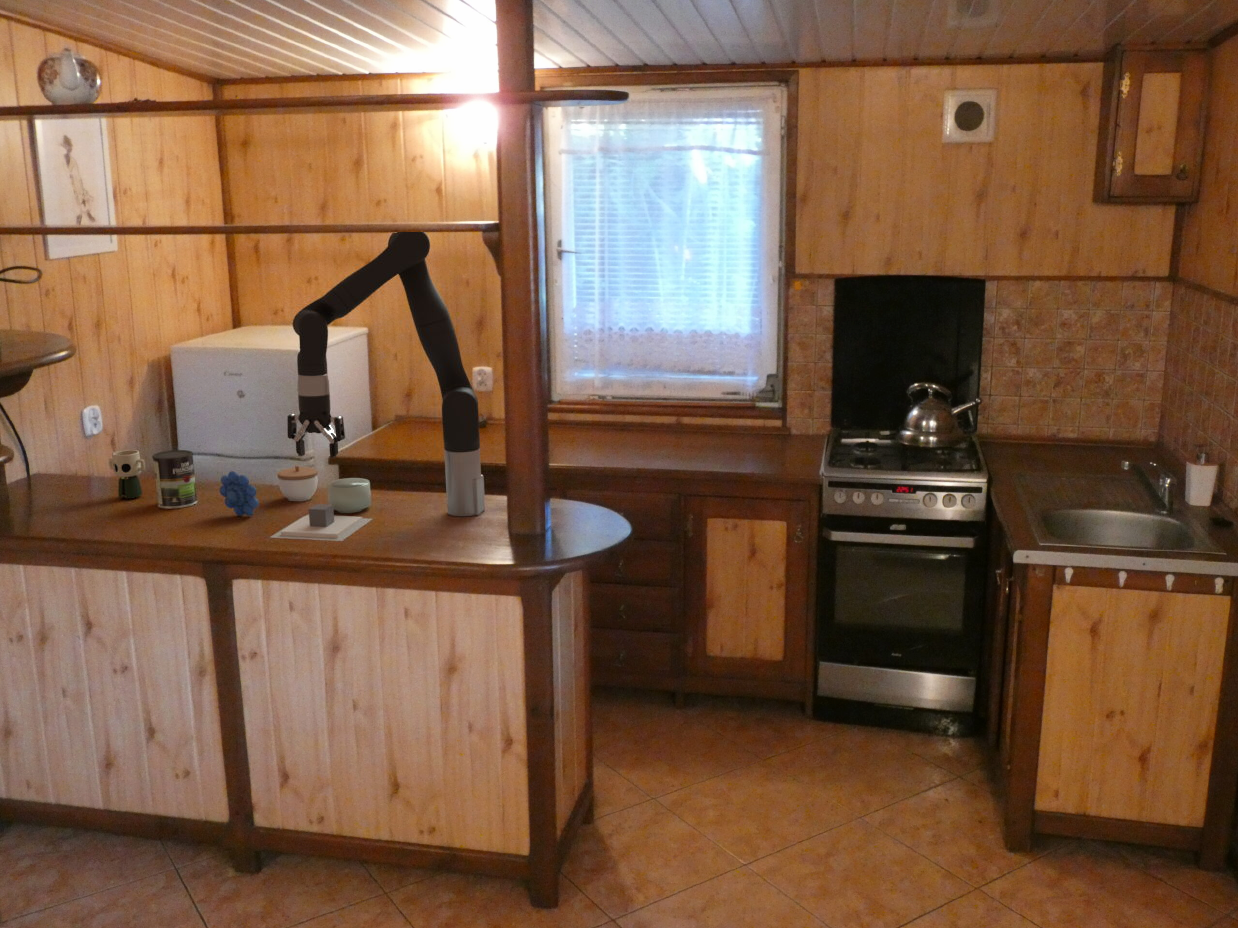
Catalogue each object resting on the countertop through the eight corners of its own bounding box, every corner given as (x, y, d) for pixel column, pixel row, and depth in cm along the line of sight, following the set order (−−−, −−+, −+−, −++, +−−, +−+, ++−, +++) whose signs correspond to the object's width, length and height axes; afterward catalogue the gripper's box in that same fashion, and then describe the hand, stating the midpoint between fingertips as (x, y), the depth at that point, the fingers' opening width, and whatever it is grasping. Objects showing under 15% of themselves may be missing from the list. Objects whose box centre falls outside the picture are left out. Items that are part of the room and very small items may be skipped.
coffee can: (206, 502, 308) (200, 452, 305) (174, 511, 300) (168, 460, 297) (181, 497, 314) (176, 448, 310) (149, 505, 305) (143, 455, 302)
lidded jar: (325, 493, 315) (322, 461, 313) (311, 504, 305) (308, 471, 303) (288, 493, 316) (285, 461, 314) (273, 503, 306) (270, 470, 304)
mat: (372, 519, 290) (372, 518, 290) (341, 542, 272) (341, 540, 272) (304, 516, 293) (304, 515, 293) (269, 538, 275) (269, 537, 275)
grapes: (211, 518, 293) (207, 473, 290) (228, 511, 299) (224, 467, 296) (248, 522, 289) (244, 477, 286) (264, 515, 295) (260, 471, 292)
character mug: (105, 500, 311) (99, 454, 308) (121, 493, 318) (115, 449, 315) (140, 501, 309) (135, 456, 306) (155, 494, 316) (150, 450, 313)
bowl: (377, 505, 303) (376, 478, 301) (361, 517, 292) (359, 488, 291) (339, 503, 305) (337, 476, 303) (322, 515, 294) (320, 487, 293)
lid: (362, 520, 288) (361, 500, 287) (337, 538, 274) (336, 516, 272) (308, 518, 291) (306, 497, 290) (280, 535, 277) (279, 513, 275)
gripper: (347, 391, 277) (350, 454, 280) (294, 388, 279) (298, 451, 283) (333, 396, 269) (337, 461, 273) (279, 393, 272) (283, 458, 276)
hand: (317, 456), depth 278 cm, fingers open, 8 cm apart
